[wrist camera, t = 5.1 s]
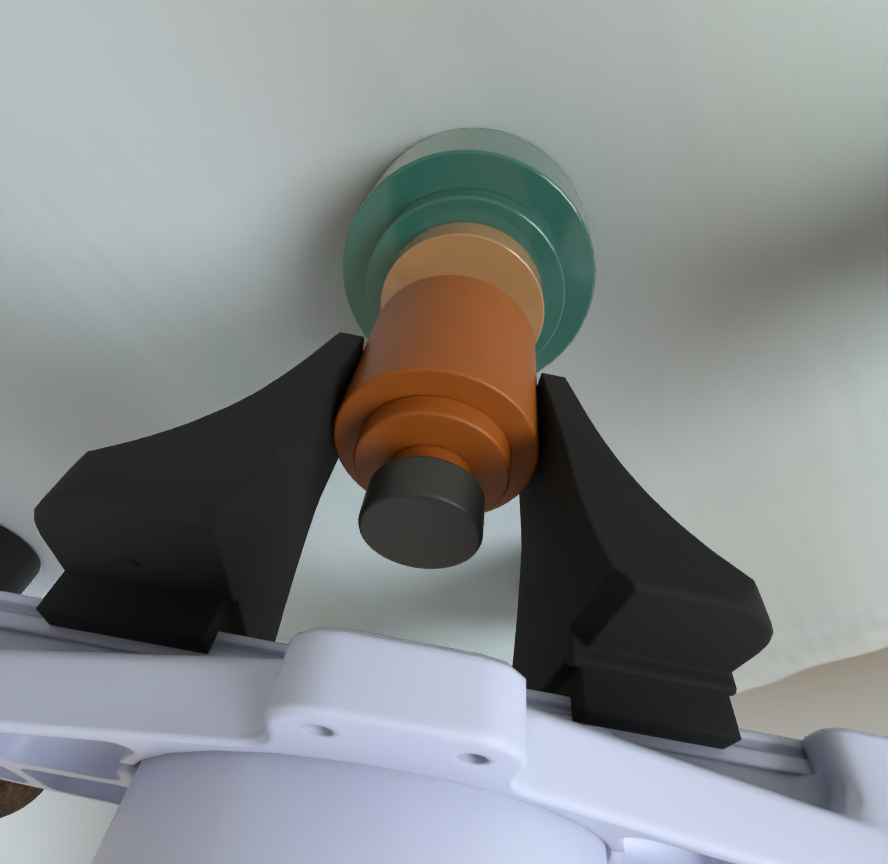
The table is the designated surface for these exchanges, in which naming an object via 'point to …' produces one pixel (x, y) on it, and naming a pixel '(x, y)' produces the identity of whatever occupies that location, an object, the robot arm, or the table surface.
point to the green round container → (476, 232)
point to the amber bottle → (440, 419)
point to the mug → (16, 563)
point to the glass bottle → (15, 796)
